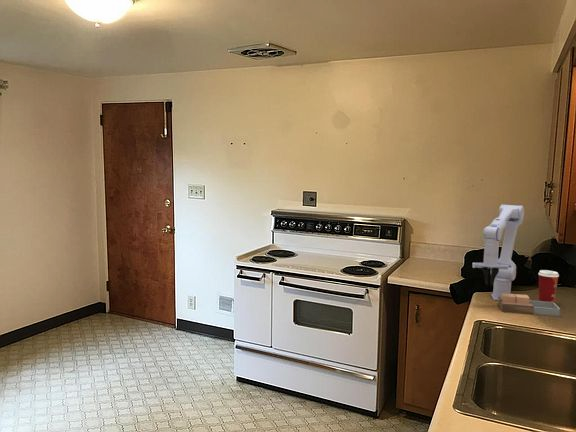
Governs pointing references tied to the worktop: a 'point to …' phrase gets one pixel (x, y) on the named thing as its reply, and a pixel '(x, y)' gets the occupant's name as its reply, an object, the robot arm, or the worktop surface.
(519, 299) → the tile
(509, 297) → the tile
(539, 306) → the tray
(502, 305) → the board
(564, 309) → the worktop surface
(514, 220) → the robot arm
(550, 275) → the coffee cup
